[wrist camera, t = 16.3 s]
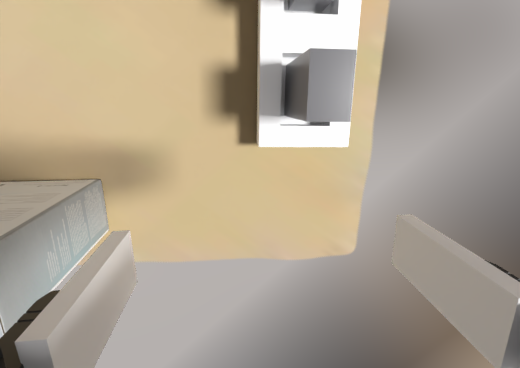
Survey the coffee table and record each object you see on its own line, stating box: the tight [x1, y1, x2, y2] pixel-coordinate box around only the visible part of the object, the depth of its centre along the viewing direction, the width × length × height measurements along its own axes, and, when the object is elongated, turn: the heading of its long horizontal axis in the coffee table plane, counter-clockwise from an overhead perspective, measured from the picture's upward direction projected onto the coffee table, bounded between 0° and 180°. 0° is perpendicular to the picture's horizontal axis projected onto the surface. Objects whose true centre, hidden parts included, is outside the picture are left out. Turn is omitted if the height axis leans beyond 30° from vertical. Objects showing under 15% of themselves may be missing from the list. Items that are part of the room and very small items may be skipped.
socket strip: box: [257, 0, 361, 147], centre depth 30 cm, size 11×25×12 cm, turn 179°
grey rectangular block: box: [284, 48, 357, 122], centre depth 32 cm, size 4×6×12 cm, turn 179°
